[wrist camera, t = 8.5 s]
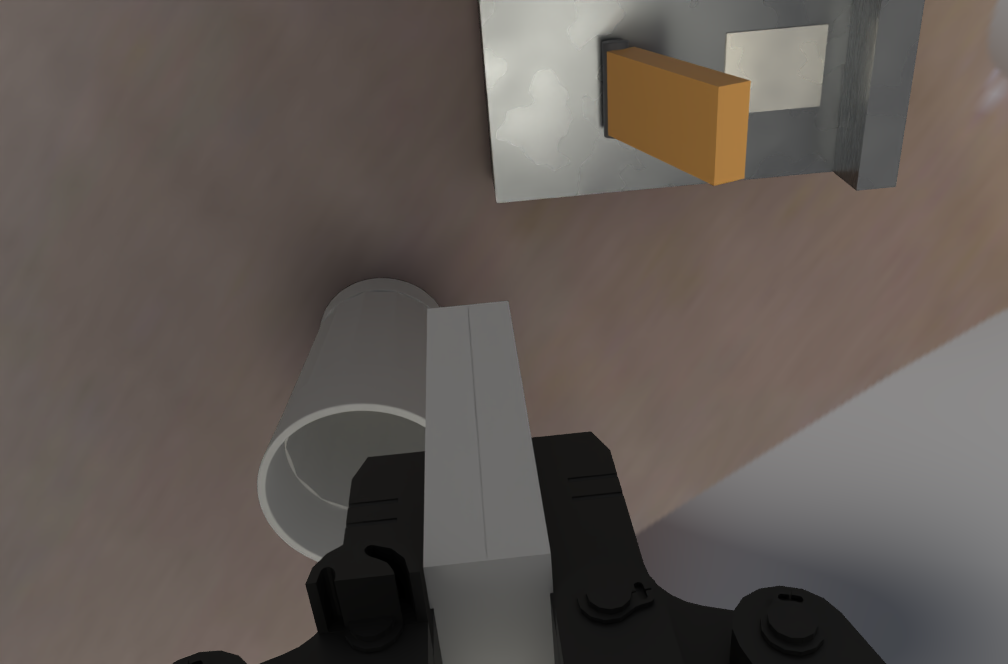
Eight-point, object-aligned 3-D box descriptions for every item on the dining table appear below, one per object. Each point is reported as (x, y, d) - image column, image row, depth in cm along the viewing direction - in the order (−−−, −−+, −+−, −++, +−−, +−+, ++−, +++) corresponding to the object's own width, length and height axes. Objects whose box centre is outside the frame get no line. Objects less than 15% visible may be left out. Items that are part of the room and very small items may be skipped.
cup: (326, 241, 40) (285, 378, 29) (487, 290, 41) (503, 436, 31) (286, 379, 43) (236, 546, 33) (436, 419, 45) (434, 589, 34)
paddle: (597, 134, 34) (713, 191, 28) (595, 42, 33) (719, 80, 26) (623, 129, 35) (743, 184, 28) (622, 37, 33) (751, 74, 27)
